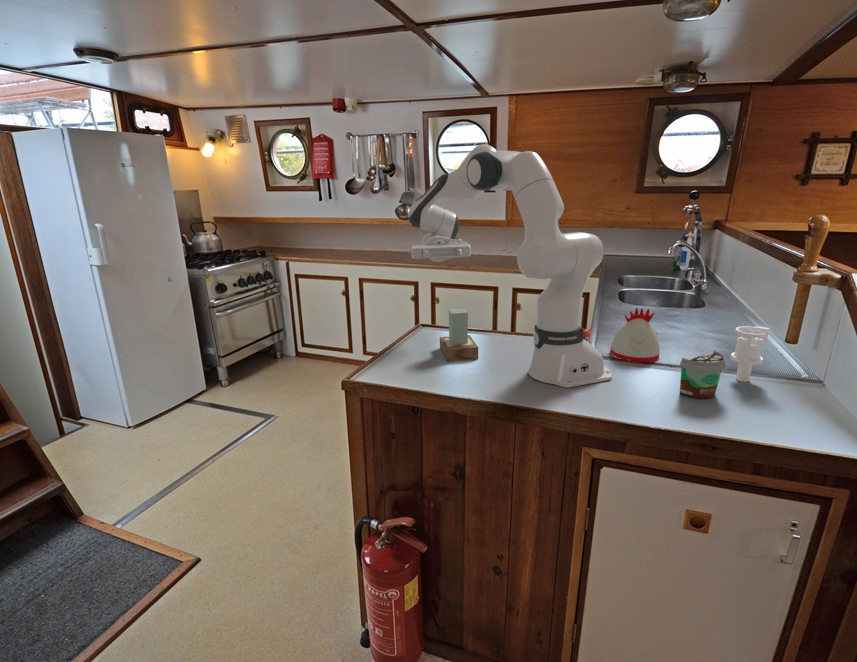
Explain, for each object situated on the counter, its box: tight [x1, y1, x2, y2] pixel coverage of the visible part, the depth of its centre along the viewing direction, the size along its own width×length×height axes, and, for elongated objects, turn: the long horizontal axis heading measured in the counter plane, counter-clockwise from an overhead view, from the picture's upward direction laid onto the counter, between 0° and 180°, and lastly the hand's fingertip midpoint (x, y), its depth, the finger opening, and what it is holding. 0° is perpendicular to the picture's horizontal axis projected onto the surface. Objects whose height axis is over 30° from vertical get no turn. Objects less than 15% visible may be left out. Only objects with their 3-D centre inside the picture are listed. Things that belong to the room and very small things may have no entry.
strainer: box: [730, 325, 770, 383], centre depth 125 cm, size 7×7×15 cm
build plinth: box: [439, 334, 479, 362], centre depth 152 cm, size 10×12×4 cm
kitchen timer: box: [610, 307, 661, 363], centre depth 145 cm, size 14×14×15 cm
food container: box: [679, 350, 727, 400], centre depth 118 cm, size 12×6×10 cm, turn 114°
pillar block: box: [448, 308, 469, 344], centre depth 149 cm, size 5×5×10 cm
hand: (444, 254), depth 154 cm, fingers open, 8 cm apart
